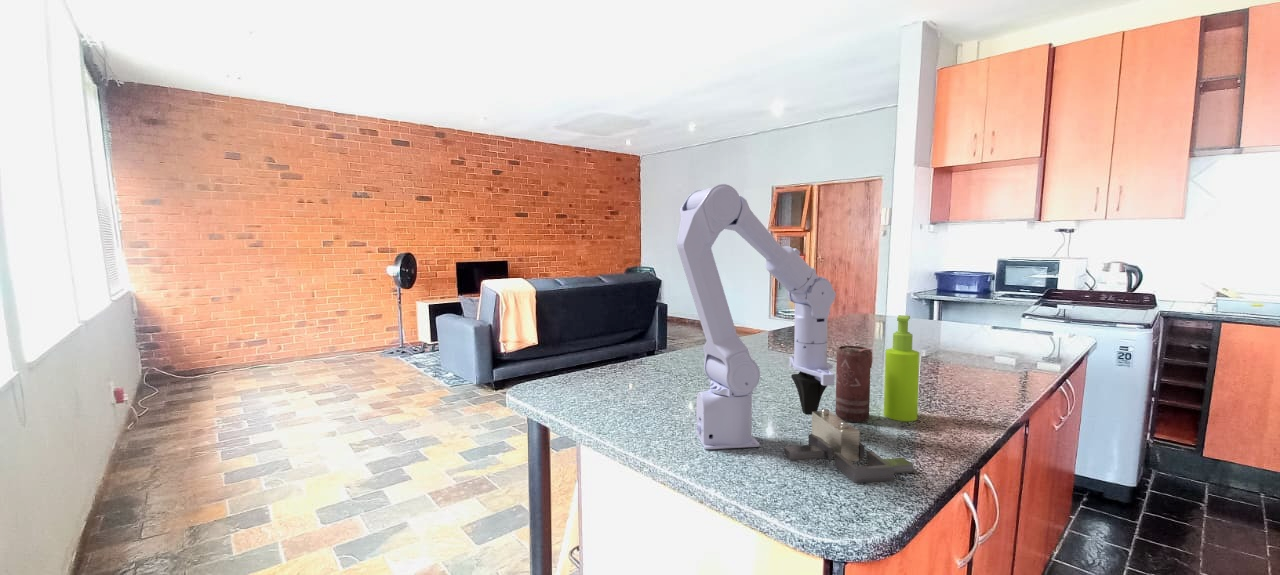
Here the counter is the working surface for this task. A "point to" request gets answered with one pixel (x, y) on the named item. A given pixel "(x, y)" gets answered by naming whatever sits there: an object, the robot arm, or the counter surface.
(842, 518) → the counter surface
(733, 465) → the counter surface
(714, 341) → the robot arm
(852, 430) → the studded metal block
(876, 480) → the grey linked bars
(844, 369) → the can
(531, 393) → the counter surface
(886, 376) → the soap dispenser
